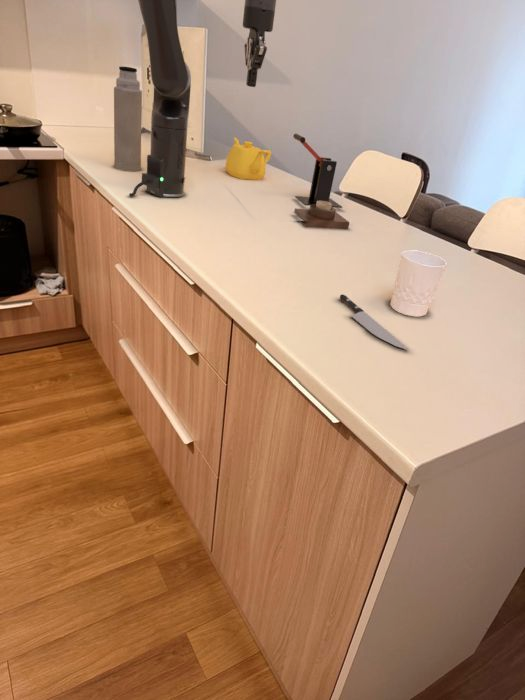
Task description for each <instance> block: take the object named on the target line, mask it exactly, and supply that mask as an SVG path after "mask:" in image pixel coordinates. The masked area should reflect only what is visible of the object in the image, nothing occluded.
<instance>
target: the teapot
mask: <svg viewBox="0 0 525 700" xmlns="http://www.w3.org/2000/svg"><path fill="white" fill-rule="evenodd" d="M233 141H234V144H232V146H231V149H230V150H229V152H228V154H227V158H226V161H225V170H226V172H227V174H228V175H230V176H232V177H234V178H236V179H241V180H251V181H252V180H254V181H257V180H259V181H260V180H262V179H263V178H264V177H265V175H266V164H267V163H268V162H269V160H270V159H271V157H272V151H271V150H269V149H262V148H259V147H257V146H254V145H253V144H254V143H253V142H252V141H244V142H243V144H240V140H239V139H238V137H234V138H233ZM264 154H265V155H264Z"/></svg>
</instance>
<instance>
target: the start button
mask: <svg viewBox="0 0 525 700" xmlns="http://www.w3.org/2000/svg"><path fill="white" fill-rule="evenodd" d="M331 205H332V204H331V203H330V202H327V201H317V203H316V208H318V209H321V210H331Z"/></svg>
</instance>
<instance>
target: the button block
mask: <svg viewBox="0 0 525 700" xmlns="http://www.w3.org/2000/svg"><path fill="white" fill-rule="evenodd" d="M293 213H294V214H296V215H297V216H298V217H299V219H301V220H299V222H300V223H301V224H302V225H303V226H304V227H305V228H312V229H313V228H314V229H330V230H331V229H332V230H349V226H350V221H349V220H347V219H346V218H344V217H343V216H342V215H341V214H339V213H338V212H337V209H336V207H331V210H321V209H318V208H316V204H311V206H309V209H308V208H296V207H295V208H294V211H293Z"/></svg>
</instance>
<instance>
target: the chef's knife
mask: <svg viewBox="0 0 525 700" xmlns="http://www.w3.org/2000/svg"><path fill="white" fill-rule="evenodd" d="M339 299H340V300H341V301H342V302H344V303H346V304H347V305H348V306H349V307H350V308H351V309H352V310H353V311H354V312H355V313H354V314H352V315H351V317H352V318H353V320H355V321H356V322H358V323H359V324H360V325H361V326H363V328H364V329H366V330H367V331H368V332H370V333H371V334H372V335H374V336H375V337H377V338H379V339H381V340H383V341H385V342H386V343H388V344H391V345H393V346H395V347H398V348H400V349H404V350H407V351H408V348H407V347H406V346H405V345H404V344H403V343H402V342H401V341H400V340H399V339H397V338H396V337H395V336H393V334H391V332H389V331H388V330H387V329H386V328H385V327H383V326H382V325H381V324H379V322H377V321H376V319H374V318H372V316H370V315H369V314H368V313H366V311H364V310H363V309H362V307H359V306H358V305H357V304H356V303H355V302H354V301H352V300H351V299H350V298H349V297H348V296H347V295H346V294H344V293H343V294H342V293H341V294H340V295H339Z"/></svg>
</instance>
